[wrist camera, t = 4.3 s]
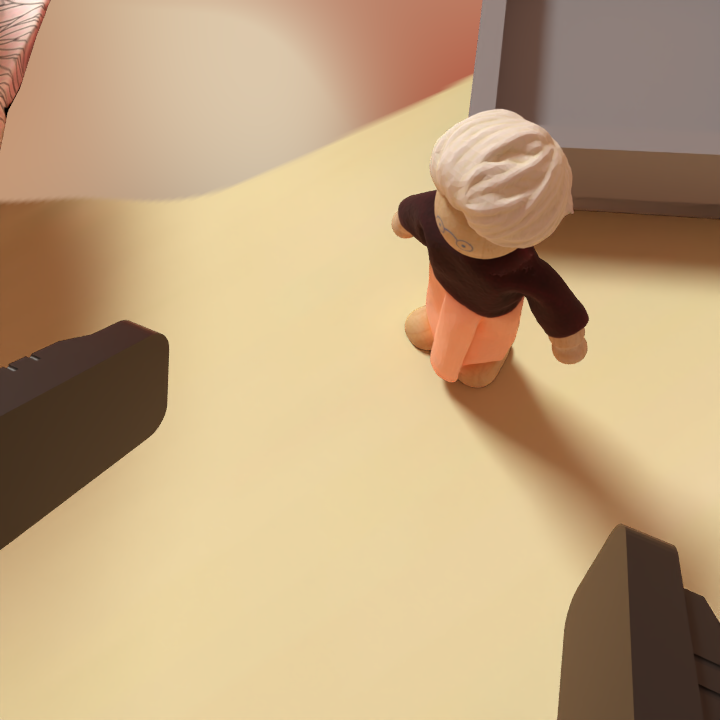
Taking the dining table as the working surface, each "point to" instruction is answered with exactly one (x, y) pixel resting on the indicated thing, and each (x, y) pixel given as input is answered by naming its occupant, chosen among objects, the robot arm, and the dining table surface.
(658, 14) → the tray
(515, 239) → the grandmother figurine
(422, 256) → the dining table surface
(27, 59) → the cookie jar
